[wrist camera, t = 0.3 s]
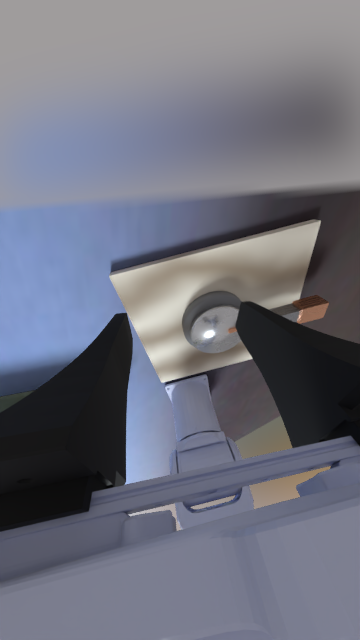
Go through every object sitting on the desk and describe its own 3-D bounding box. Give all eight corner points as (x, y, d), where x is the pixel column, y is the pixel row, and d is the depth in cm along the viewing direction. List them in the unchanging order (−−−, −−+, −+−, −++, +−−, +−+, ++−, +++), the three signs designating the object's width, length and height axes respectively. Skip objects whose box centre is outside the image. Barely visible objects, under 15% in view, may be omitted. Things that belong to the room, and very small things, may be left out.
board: (281, 345, 30) (290, 356, 28) (161, 377, 30) (162, 390, 28) (313, 219, 18) (334, 222, 16) (110, 272, 18) (106, 282, 16)
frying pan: (306, 323, 24) (317, 331, 22) (194, 353, 24) (197, 363, 22) (323, 276, 19) (337, 283, 18) (185, 313, 19) (188, 322, 18)
